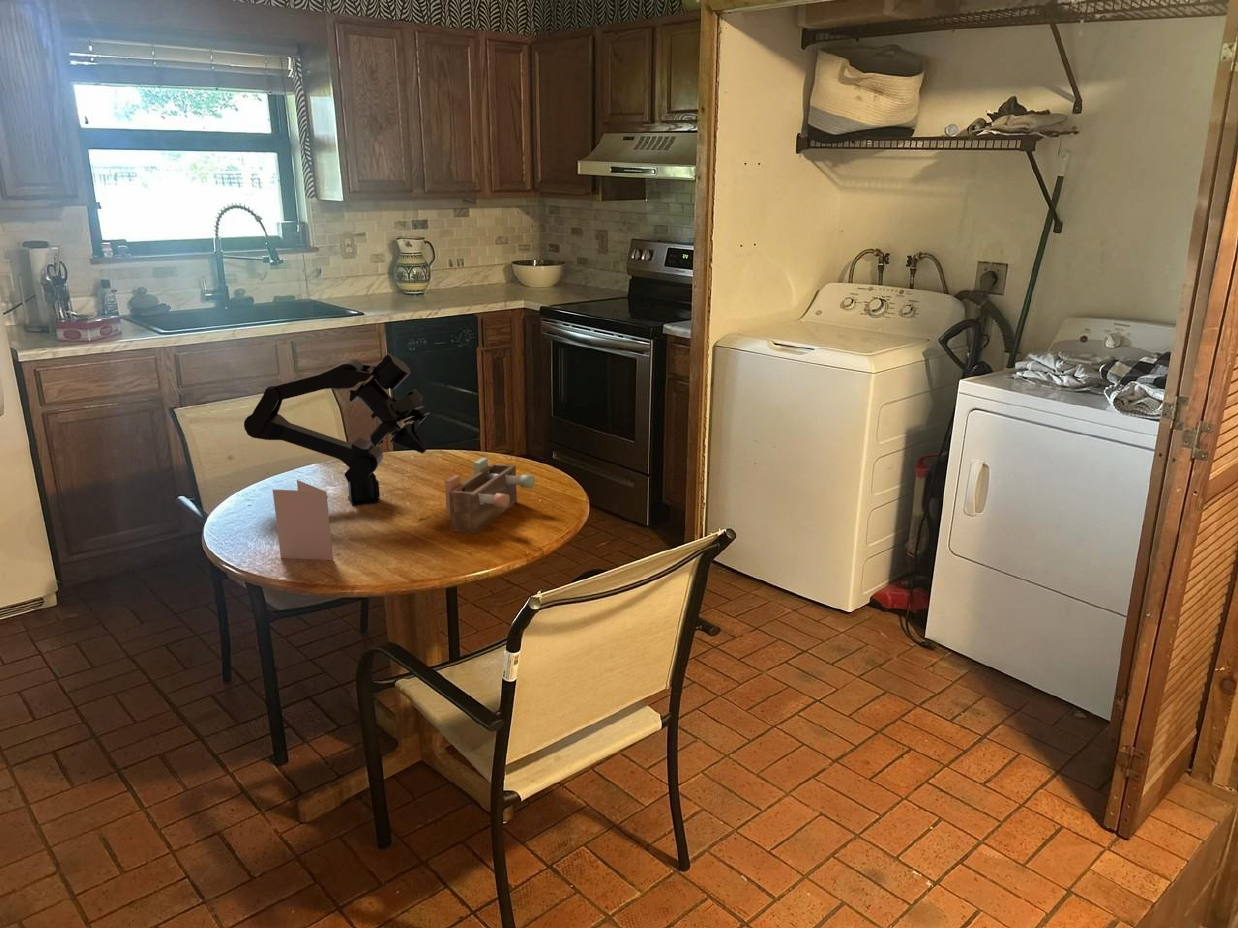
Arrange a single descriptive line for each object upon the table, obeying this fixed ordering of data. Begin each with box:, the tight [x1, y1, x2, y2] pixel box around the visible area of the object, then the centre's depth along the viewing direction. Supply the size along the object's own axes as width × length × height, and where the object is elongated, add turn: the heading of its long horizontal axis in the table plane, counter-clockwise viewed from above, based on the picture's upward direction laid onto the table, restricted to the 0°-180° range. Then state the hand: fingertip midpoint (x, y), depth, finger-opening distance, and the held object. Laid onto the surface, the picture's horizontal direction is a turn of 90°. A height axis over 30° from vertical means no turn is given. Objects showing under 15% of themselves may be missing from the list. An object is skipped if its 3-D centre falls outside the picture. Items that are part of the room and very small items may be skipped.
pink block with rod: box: [444, 474, 510, 516], centre depth 206 cm, size 14×4×8 cm, turn 72°
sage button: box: [473, 457, 536, 489], centre depth 218 cm, size 14×4×8 cm, turn 71°
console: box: [449, 463, 518, 534], centre depth 213 cm, size 6×22×9 cm, turn 162°
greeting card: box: [272, 479, 334, 561], centre depth 189 cm, size 11×7×15 cm, turn 48°
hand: (424, 451), depth 217 cm, fingers closed
